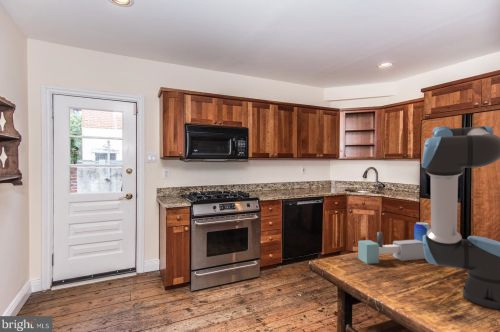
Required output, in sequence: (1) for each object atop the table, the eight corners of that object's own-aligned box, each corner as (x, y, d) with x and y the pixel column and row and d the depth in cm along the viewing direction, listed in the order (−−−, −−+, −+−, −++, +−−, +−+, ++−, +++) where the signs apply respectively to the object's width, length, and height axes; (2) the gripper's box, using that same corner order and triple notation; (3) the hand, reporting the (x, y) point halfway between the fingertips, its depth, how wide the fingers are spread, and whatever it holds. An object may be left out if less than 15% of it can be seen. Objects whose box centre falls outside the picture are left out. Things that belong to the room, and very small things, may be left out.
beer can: (411, 248, 168) (411, 222, 168) (420, 246, 172) (419, 221, 172) (425, 252, 161) (424, 225, 160) (433, 250, 164) (433, 223, 164)
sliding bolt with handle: (406, 252, 150) (406, 231, 150) (366, 255, 146) (366, 234, 146) (401, 250, 153) (401, 230, 153) (363, 253, 149) (362, 232, 149)
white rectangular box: (425, 258, 150) (425, 242, 150) (401, 260, 148) (401, 244, 148) (416, 254, 157) (415, 239, 157) (393, 256, 154) (392, 240, 154)
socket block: (378, 262, 145) (378, 244, 144) (366, 263, 143) (366, 244, 143) (369, 257, 152) (369, 240, 152) (358, 258, 151) (358, 240, 151)
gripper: (446, 156, 146) (446, 200, 147) (425, 157, 144) (425, 201, 144) (459, 156, 139) (459, 202, 139) (437, 156, 137) (437, 203, 137)
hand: (442, 202), depth 142 cm, fingers closed
